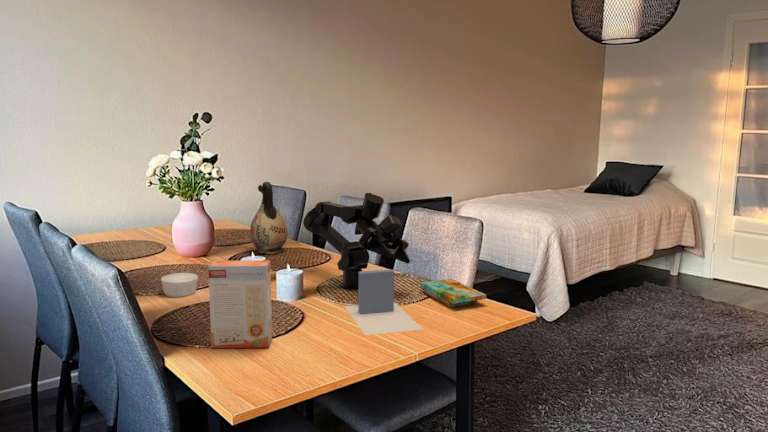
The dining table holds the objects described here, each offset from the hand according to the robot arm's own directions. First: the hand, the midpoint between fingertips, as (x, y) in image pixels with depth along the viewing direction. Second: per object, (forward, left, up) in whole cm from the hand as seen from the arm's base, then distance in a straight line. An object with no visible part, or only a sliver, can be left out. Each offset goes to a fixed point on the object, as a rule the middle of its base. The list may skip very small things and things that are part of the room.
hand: (400, 259), depth 172 cm
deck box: (+1, -10, -14) cm, 17 cm away
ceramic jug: (-85, +5, -15) cm, 87 cm away
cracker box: (-2, -51, -15) cm, 53 cm away
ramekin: (-53, -46, -15) cm, 72 cm away
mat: (+5, -12, -14) cm, 19 cm away
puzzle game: (+6, +17, -15) cm, 23 cm away
